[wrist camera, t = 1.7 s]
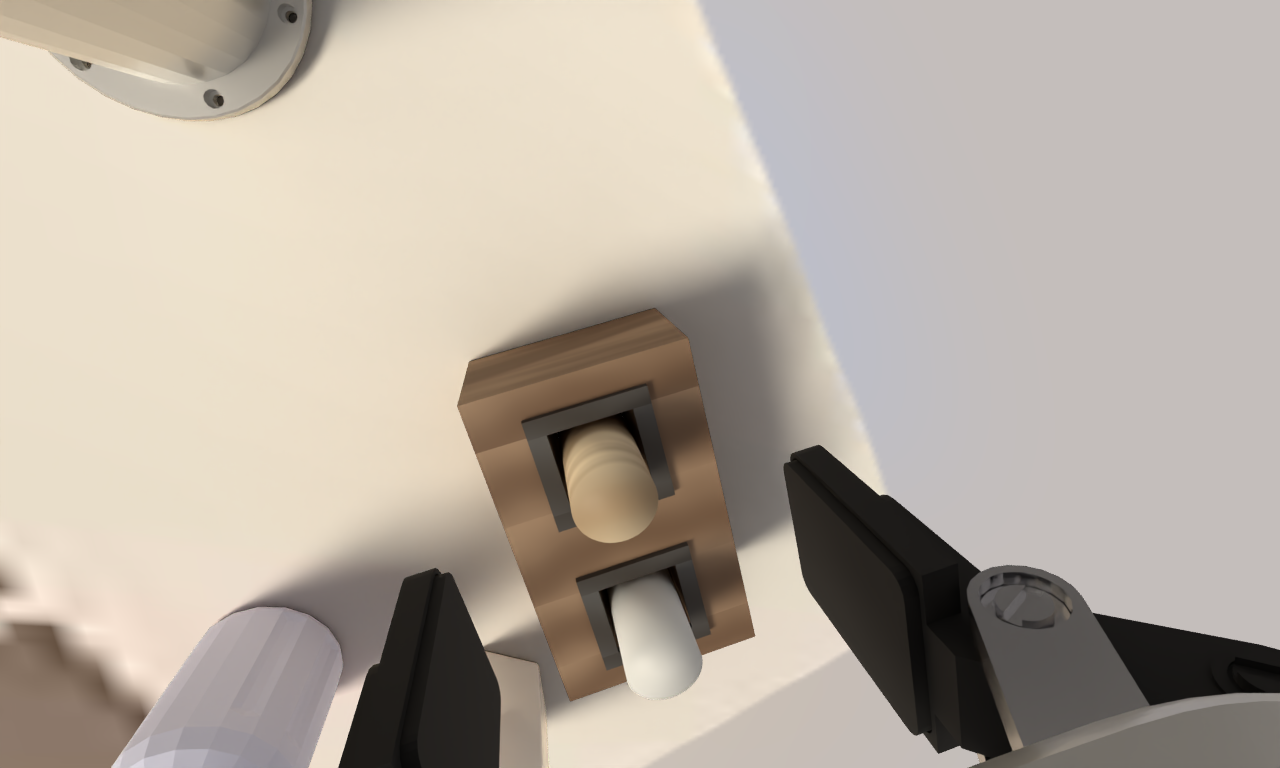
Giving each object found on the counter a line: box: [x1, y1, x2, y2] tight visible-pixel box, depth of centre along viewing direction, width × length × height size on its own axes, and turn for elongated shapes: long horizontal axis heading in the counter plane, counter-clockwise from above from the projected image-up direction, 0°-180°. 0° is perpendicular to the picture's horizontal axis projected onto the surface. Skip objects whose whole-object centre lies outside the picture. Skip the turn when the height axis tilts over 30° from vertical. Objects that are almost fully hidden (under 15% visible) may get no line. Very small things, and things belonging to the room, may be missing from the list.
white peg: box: [606, 568, 702, 700], centre depth 34 cm, size 4×4×8 cm
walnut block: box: [457, 308, 755, 701], centre depth 37 cm, size 20×12×8 cm, turn 14°
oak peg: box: [560, 413, 658, 543], centre depth 31 cm, size 4×4×8 cm
